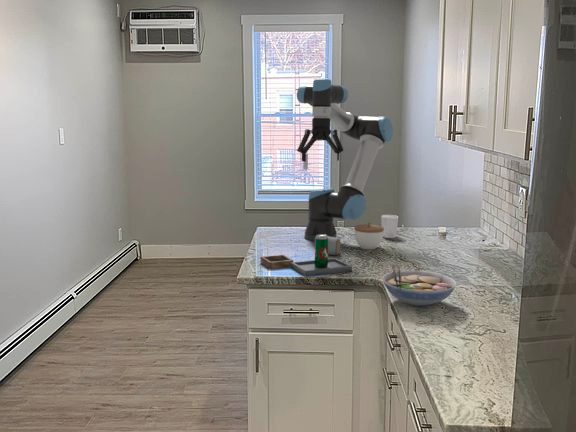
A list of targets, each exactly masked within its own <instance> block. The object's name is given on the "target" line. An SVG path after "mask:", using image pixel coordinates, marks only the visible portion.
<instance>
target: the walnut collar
mask: <svg viewBox="0 0 576 432" xmlns="http://www.w3.org/2000/svg"><path fill="white" fill-rule="evenodd" d="M291 262H294V259H292V258H290V257H288V256H287V255H285V254H277V255H266V256H265V255H264V256H263V255H262V256H260V264H261V265H263V266H264V267H266V268H268V269H269V270H274V269H284V268H285V269H286V268H291Z"/></svg>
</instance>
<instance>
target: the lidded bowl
mask: <svg viewBox="0 0 576 432" xmlns="http://www.w3.org/2000/svg"><path fill="white" fill-rule="evenodd" d="M383 231H384V228H383V227H382V226H381V225H378V224H371V222H367V224H365V223H364V224H356V225H355V226H354V238H355V242H356V244H357V245H358V246H359V248H361V249H363V250H374V249H377V248H378V246H380V245H381V243H382V241H383V238H384V237H383Z"/></svg>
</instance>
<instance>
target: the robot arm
mask: <svg viewBox="0 0 576 432" xmlns="http://www.w3.org/2000/svg"><path fill="white" fill-rule="evenodd" d="M348 97H349V92H348V89H347V87H345V86H344V85H340V84H338V85H337V84H336V85H335V84H333V83H332V80H331V79H329V78H316V79H314V80H313V81H312V85H301V86H299V87H298V89H297V92H296V99H297V101H298V102H299V103H300V104H308V105H309V106H311V107H312V111H311V113H312V115H311V116H312V117H313V118H312V119H311V120H312V121H311V127H312V128H311V129H309V128H308V129H307V128H306V129H305V130H304V134H303V136H302V139H301V141H300V143H299V144H298V145H299V146H298V148H297V150H296V151H297V152H298V153H301V162H303V166H302V167H303V170H305V171H307V170H309V169H308V167H309V165H308V164H309V154H308V153H307V152H309V150H310V149H311V148H312V146H313V145H314V143H315V142H317V141H325V142H327V144H328V145H329V146H330V148H331V149H332V151H333V153H332V164H331V165H332V169H333V170H337V169H338V161H340V154H341V152H344V148H343V145H342V143H341V140H340V138H339V135H338V131H340V132H341V133H343V134H344V135H346V136H347V137H349V138H351V139H354V140H356V141H360V145H359V148H358V151H357V153H356V156H355V158H354V160H353V163H352V165H351V169H350V171H349V173H348V176H347V179H346V181H345V183H344V184H343V185H340V187H339V189H338V192H337V191H335V188H329V187H328V188H319V189H312V190H310V191H309V195H308V221H307V224H306V228H305V230H304V239H307V240H309V241H315V237H316V235H318V234H324V235H328V236H329V237H335V238H338V237H337V236H338V234H337V230H336V227H335V223H334V219H341V220H347V221H356V220H358V219H360V218H361V217H362V216H363V214H364V213H365V210H366V207H367V206H366V205H367V200H366V198H365V193H364V189H365V186H366V183H367V181H368V178H369V175H370V173H371V170H372V167H373V165H374V162H375V159H376V157H377V155H378V152H379V150H381V149H382V148H383V147H384V145H385V143H389V142H390V141H392V138H393V134H394V128H393V124H392V123H393V122H392V120H391V119H390V118H389V116H382V115H380V116H377V115H375V116H370V115H369V116H368V115H364V116H363V115H354V114H352V113H351V112H346V110H344V109H343V108H341V107H340V106H339V105H340V104H344V103H345V102H347V99H348ZM338 104H339V105H338ZM331 123H333V124H334V125H336V128H337V129H335V128H333V129H331ZM311 134H312V136H311ZM330 135H331V136H332V138H333V140H332V138H331V136H330ZM310 136H311V137H310ZM309 138H310V139H309ZM308 139H309V140H308Z"/></svg>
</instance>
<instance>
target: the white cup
mask: <svg viewBox="0 0 576 432" xmlns="http://www.w3.org/2000/svg"><path fill="white" fill-rule="evenodd" d="M380 223H381V225H380V226H382V227H383V228H384V231H383V238H385V239H395V238H397V231H398V225H399V224H398V223H399V216H398V215H396V214H382V215H381V220H380Z"/></svg>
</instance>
